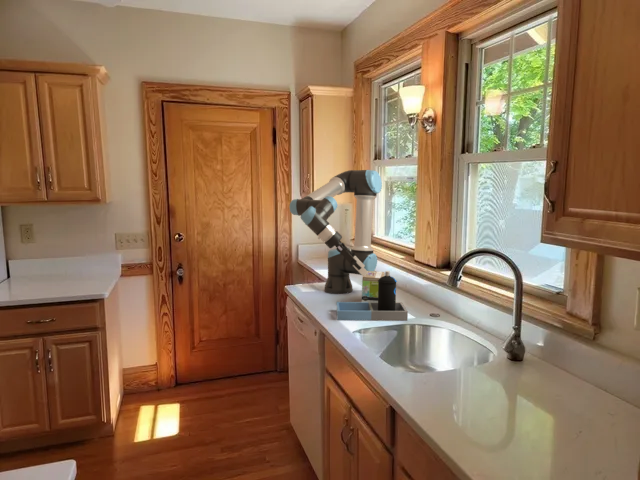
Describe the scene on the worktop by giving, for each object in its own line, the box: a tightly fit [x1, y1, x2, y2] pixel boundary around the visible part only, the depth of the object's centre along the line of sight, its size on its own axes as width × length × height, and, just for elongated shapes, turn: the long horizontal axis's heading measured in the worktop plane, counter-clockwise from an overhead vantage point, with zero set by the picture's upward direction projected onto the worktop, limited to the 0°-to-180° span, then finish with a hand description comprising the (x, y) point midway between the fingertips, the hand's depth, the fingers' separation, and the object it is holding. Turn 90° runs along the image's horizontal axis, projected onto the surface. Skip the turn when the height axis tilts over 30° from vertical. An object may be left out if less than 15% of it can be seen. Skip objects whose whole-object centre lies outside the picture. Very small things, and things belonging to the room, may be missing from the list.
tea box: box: [361, 270, 385, 302], centre depth 211 cm, size 15×10×15 cm
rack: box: [336, 301, 409, 322], centre depth 193 cm, size 14×30×4 cm, turn 89°
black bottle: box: [378, 270, 398, 311], centre depth 192 cm, size 8×8×20 cm
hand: (364, 270), depth 190 cm, fingers open, 13 cm apart
